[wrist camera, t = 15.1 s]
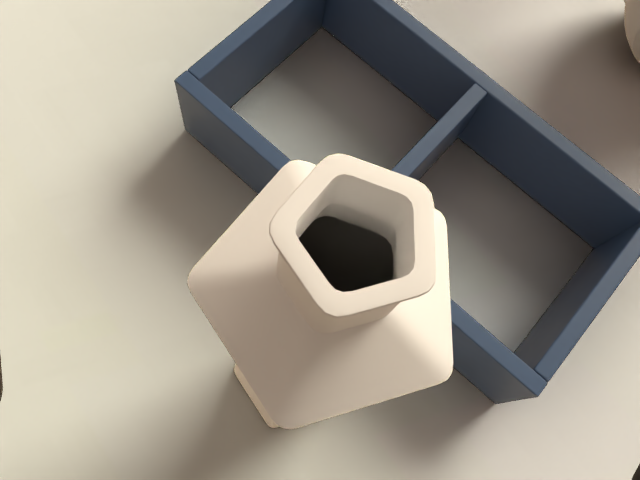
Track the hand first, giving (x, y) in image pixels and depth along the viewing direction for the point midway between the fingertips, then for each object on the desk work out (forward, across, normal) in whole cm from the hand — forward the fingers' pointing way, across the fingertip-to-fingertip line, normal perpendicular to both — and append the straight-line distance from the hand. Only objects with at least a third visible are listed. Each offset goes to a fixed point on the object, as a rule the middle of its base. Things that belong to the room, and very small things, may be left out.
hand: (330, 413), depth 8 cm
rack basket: (+16, -3, +2) cm, 17 cm away
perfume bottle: (+11, 0, +8) cm, 14 cm away
